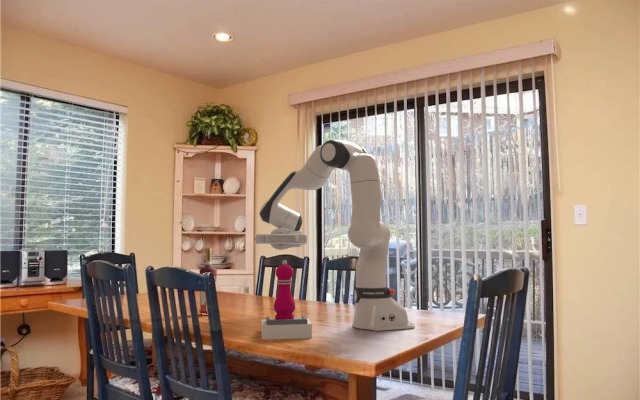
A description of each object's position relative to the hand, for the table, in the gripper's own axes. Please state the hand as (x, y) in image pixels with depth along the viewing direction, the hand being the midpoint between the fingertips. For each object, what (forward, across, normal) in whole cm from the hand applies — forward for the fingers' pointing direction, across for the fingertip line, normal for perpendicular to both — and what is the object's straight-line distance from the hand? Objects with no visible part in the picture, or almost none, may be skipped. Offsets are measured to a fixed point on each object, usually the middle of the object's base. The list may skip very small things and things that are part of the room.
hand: (282, 238), depth 181 cm
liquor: (-29, -30, +32) cm, 53 cm away
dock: (+19, 0, +32) cm, 37 cm away
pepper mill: (+20, 0, +27) cm, 34 cm away
